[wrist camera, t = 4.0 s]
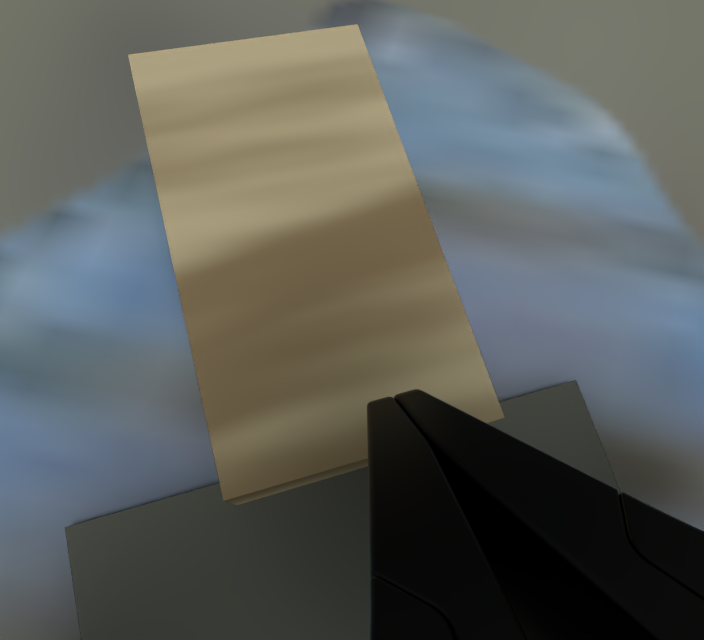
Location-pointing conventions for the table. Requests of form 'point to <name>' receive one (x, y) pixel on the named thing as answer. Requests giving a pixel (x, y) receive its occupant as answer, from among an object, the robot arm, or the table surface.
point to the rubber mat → (271, 548)
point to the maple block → (299, 253)
